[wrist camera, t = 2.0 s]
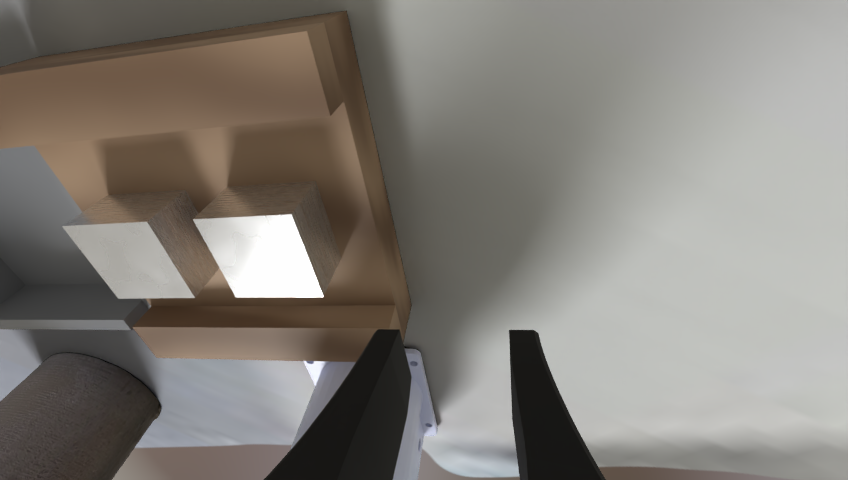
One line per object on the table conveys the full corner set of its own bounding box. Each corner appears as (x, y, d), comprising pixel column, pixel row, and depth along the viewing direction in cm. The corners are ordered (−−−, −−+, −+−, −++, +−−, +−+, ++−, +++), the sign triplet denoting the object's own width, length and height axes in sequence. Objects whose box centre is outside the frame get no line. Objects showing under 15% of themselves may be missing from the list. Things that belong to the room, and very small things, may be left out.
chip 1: (224, 261, 20) (195, 297, 18) (154, 263, 21) (118, 298, 19) (185, 189, 18) (146, 221, 16) (108, 194, 19) (61, 226, 17)
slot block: (411, 305, 24) (398, 362, 20) (197, 306, 26) (156, 357, 23) (346, 10, 15) (306, 31, 12) (38, 56, 18) (-62, 83, 15)
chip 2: (341, 258, 19) (323, 296, 17) (262, 260, 20) (235, 297, 18) (315, 180, 17) (291, 214, 15) (227, 186, 17) (192, 219, 15)
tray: (181, 286, 25) (143, 330, 23) (31, 289, 28) (-21, 328, 25) (59, 97, 19) (-16, 125, 16) (-126, 120, 21) (-221, 148, 18)
